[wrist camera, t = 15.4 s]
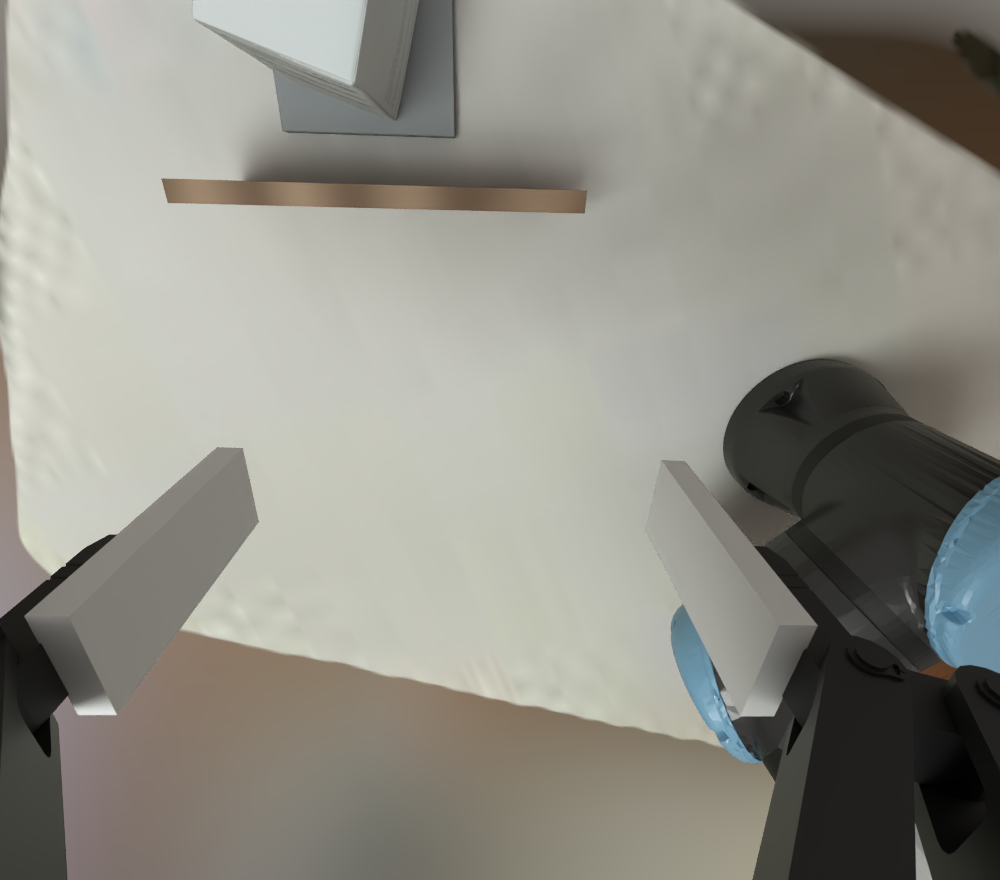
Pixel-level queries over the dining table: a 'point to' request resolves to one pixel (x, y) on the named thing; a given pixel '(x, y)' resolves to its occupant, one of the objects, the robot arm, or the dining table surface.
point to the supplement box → (324, 43)
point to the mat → (422, 94)
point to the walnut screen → (373, 196)
